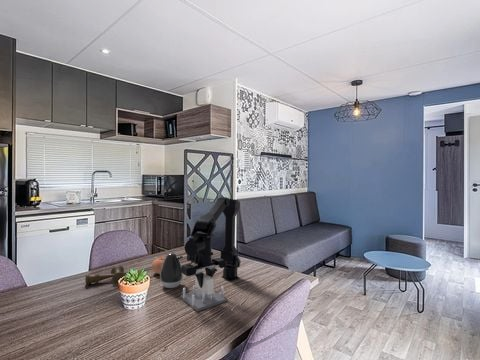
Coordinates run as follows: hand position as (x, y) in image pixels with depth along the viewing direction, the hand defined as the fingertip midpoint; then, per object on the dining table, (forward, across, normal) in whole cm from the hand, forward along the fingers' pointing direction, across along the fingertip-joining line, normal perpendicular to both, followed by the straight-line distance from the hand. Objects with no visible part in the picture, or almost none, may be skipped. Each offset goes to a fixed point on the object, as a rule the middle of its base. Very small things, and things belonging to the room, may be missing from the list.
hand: (203, 286), depth 110 cm
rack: (+5, 0, 0) cm, 5 cm away
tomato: (+6, +2, -38) cm, 38 cm away
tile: (+1, 0, 0) cm, 1 cm away
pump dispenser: (+6, +5, -20) cm, 21 cm away
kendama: (+6, +26, -42) cm, 50 cm away
